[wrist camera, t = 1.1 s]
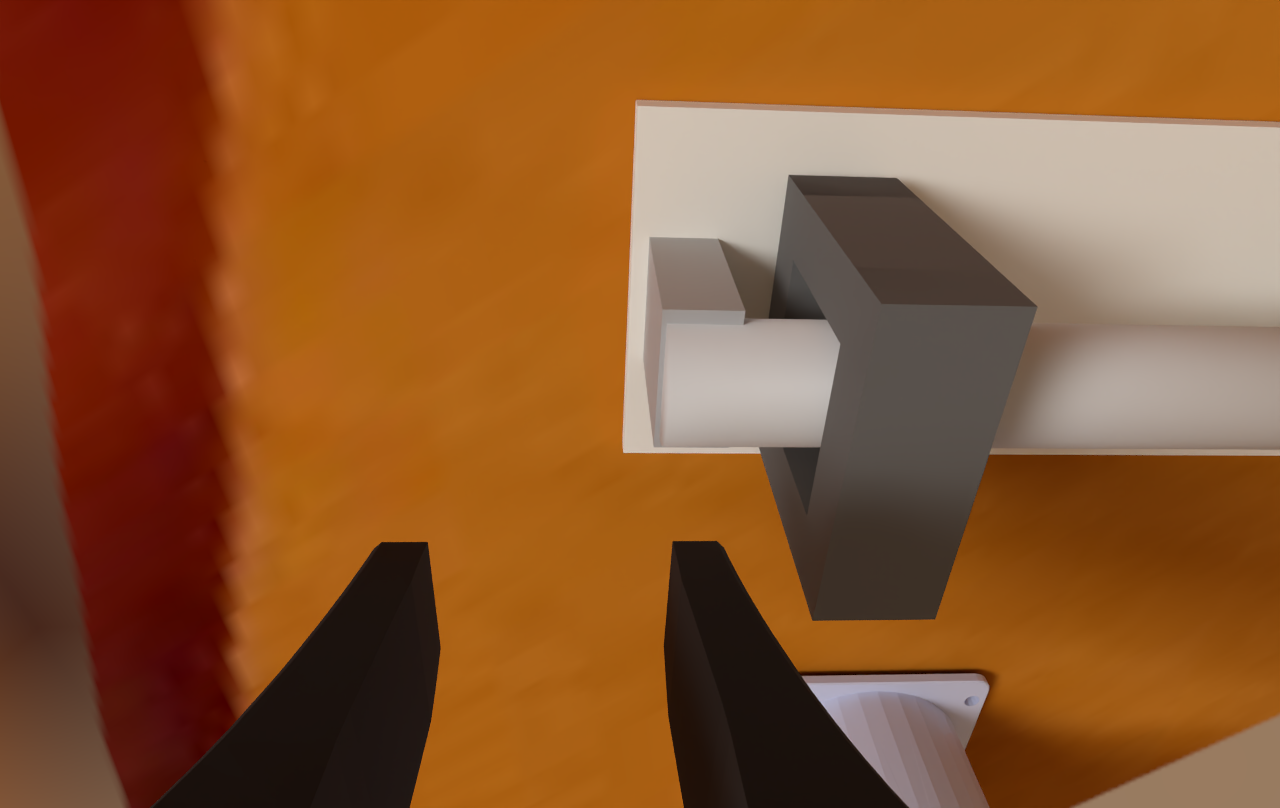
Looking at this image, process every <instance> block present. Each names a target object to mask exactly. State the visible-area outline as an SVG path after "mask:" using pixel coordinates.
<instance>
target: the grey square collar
mask: <svg viewBox="0 0 1280 808" xmlns="http://www.w3.org/2000/svg"><path fill="white" fill-rule="evenodd" d="M1037 308H1038V306H1036V305H1035V304H1034V303H1033V302H1032V301H1031V300H1030V299H1029V298H1028V297H1027V296H1025V295H1024V294H1023V293H1022V292H1021V291H1020V290H1019V289H1018V288H1017V287H1016V286H1015V285H1013V284H1012V283H1011V282H1010V281H1009V280H1008V279H1007V278H1006V277H1005V276H1004V275H1003V274H1001V273H1000V272H999V271H998V270H997V269H996V268H995V267H994V266H993V265H992V264H990V263H989V262H988V261H987V260H986V259H985V258H984V257H983V256H982V255H981V254H980V253H978V252H977V251H976V250H975V249H974V248H973V247H972V246H971V245H970V244H969V243H967V242H966V241H965V240H964V239H963V238H962V237H961V236H960V235H959V234H958V233H957V232H955V231H954V230H953V229H952V228H951V227H950V226H949V225H948V224H947V223H946V222H945V221H943V220H942V219H941V218H940V217H939V216H938V215H937V214H936V213H935V212H934V211H932V210H931V209H930V208H929V207H928V206H927V205H926V204H925V203H924V202H923V201H922V200H920V199H919V198H918V197H917V196H916V195H915V194H914V193H913V192H912V191H911V190H909V189H908V188H907V187H906V186H905V185H904V184H903V183H902V182H901V181H900V180H899V179H897V178H885V177H850V176H814V175H788V182H787V190H786V197H785V204H784V211H783V218H782V225H781V233H780V240H779V247H778V254H777V261H776V268H775V275H774V283H773V290H772V297H771V304H770V311H769V318H768V319H813V320H827V321H828V323H829V325H830V326H831V328H832V330H833V332H834V333H835V335H836V337H837V339H838V341H839V342H840V349H839V354H838V359H837V364H836V369H835V374H834V380H833V385H832V390H831V395H830V400H829V405H828V410H827V416H826V421H825V426H824V431H823V436H822V441H821V446H820V447H759V450H760V453H761V456H762V459H763V463H764V466H765V469H766V472H767V475H768V479H769V482H770V485H771V488H772V492H773V495H774V498H775V501H776V504H777V508H778V511H779V514H780V517H781V520H782V524H783V527H784V530H785V533H786V537H787V540H788V543H789V546H790V549H791V553H792V556H793V559H794V562H795V566H796V569H797V572H798V575H799V578H800V582H801V585H802V588H803V591H804V595H805V598H806V601H807V604H808V607H809V611H810V614H811V617H812V620H813V621H819V620H918V619H935V618H936V615H937V612H938V609H939V606H940V603H941V600H942V597H943V594H944V591H945V588H946V585H947V581H948V578H949V575H950V572H951V569H952V566H953V563H954V560H955V557H956V554H957V551H958V548H959V545H960V542H961V539H962V536H963V533H964V530H965V527H966V524H967V521H968V518H969V515H970V511H971V508H972V505H973V502H974V499H975V496H976V493H977V490H978V487H979V484H980V481H981V478H982V475H983V472H984V469H985V466H986V463H987V460H988V457H989V454H990V451H991V448H992V445H993V441H994V438H995V435H996V432H997V429H998V426H999V423H1000V420H1001V417H1002V414H1003V411H1004V408H1005V405H1006V402H1007V399H1008V396H1009V393H1010V390H1011V387H1012V384H1013V381H1014V378H1015V374H1016V371H1017V368H1018V365H1019V362H1020V359H1021V356H1022V353H1023V350H1024V347H1025V344H1026V341H1027V338H1028V335H1029V332H1030V329H1031V326H1032V323H1033V320H1034V317H1035V314H1036V311H1037Z"/></svg>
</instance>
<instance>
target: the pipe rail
mask: <svg viewBox="0 0 1280 808" xmlns="http://www.w3.org/2000/svg"><path fill="white" fill-rule="evenodd" d="M788 175H814V176H850V177H885V178H897V179H899V180H900V181H901V182H902V183H903V184H904V185H905V186H906V187H907V188H908V189H909V190H911V191H912V192H913V193H914V194H915V195H916V196H917V197H918V198H919V199H920V200H922V201H923V202H924V203H925V204H926V205H927V206H928V207H929V208H930V209H931V210H932V211H934V212H935V213H936V214H937V215H938V216H939V217H940V218H941V219H942V220H943V221H945V222H946V223H947V224H948V225H949V226H950V227H951V228H952V229H953V230H954V231H955V232H957V233H958V234H959V235H960V236H961V237H962V238H963V239H964V240H965V241H966V242H967V243H969V244H970V245H971V246H972V247H973V248H974V249H975V250H976V251H977V252H978V253H980V254H981V255H982V256H983V257H984V258H985V259H986V260H987V261H988V262H989V263H990V264H992V265H993V266H994V267H995V268H996V269H997V270H998V271H999V272H1000V273H1001V274H1003V275H1004V276H1005V277H1006V278H1007V279H1008V280H1009V281H1010V282H1011V283H1012V284H1013V285H1015V286H1016V287H1017V288H1018V289H1019V290H1020V291H1021V292H1022V293H1023V294H1024V295H1025V296H1027V297H1028V298H1029V299H1030V300H1031V301H1032V302H1033V303H1034V304H1035V305H1036V306H1038V308H1037V311H1036V314H1035V317H1034V320H1033V323H1032V326H1031V329H1030V332H1029V335H1028V338H1027V341H1026V344H1025V347H1024V350H1023V353H1022V356H1021V359H1020V362H1019V365H1018V368H1017V371H1016V374H1015V378H1014V381H1013V384H1012V387H1011V390H1010V393H1009V396H1008V399H1007V402H1006V405H1005V408H1004V411H1003V414H1002V417H1001V420H1000V423H999V426H998V429H997V432H996V435H995V438H994V441H993V445H992V448H991V451H990V454H1014V455H1247V456H1280V122H1266V121H1237V120H1208V119H1179V118H1150V117H1121V116H1091V115H1062V114H1033V113H1004V112H975V111H946V110H917V109H888V108H859V107H829V106H800V105H771V104H742V103H713V102H684V101H655V100H636V111H635V137H634V162H633V188H632V213H631V238H630V264H629V289H628V314H627V340H626V365H625V390H624V416H623V453H760V450H759V447H820V446H821V441H822V436H823V431H824V426H825V421H826V416H827V410H828V405H829V400H830V395H831V390H832V385H833V380H834V374H835V369H836V364H837V359H838V354H839V349H840V342H839V341H838V339H837V337H836V335H835V333H834V332H833V330H832V328H831V326H830V325H829V323H828V321H827V320H813V319H768V318H769V311H770V304H771V297H772V290H773V283H774V275H775V268H776V261H777V254H778V247H779V240H780V233H781V225H782V218H783V211H784V204H785V197H786V190H787V182H788Z"/></svg>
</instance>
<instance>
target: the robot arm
mask: <svg viewBox="0 0 1280 808" xmlns="http://www.w3.org/2000/svg"><path fill="white" fill-rule="evenodd" d="M440 649H441V648H440V639H439V631H438V623H437V615H436V607H435V598H434V590H433V582H432V574H431V566H430V557H429V549H428V542H381V543H380V544H379V545H378V546H377V547H376V548H374V550H373V551H372V552H371V554H370V555H369V557H368V558H367V560H366V561H365V562H364V564H363V565H362V567H361V568H360V570H359V571H358V572H357V574H356V575H355V577H354V578H353V579H352V581H351V582H350V583H349V585H348V586H347V588H346V589H345V590H344V592H343V593H342V594H341V596H340V597H339V598H338V600H337V601H336V602H335V604H334V605H333V606H332V608H331V609H330V610H329V612H328V613H327V614H326V615H325V617H324V618H323V619H322V621H321V622H320V623H319V625H318V626H317V627H316V628H315V629H314V631H313V632H312V633H311V634H310V636H309V637H308V638H307V639H306V641H305V642H304V643H303V644H302V646H301V647H300V648H299V649H298V651H297V652H296V653H295V654H294V655H293V657H292V658H291V659H290V660H289V662H288V663H287V664H286V665H285V667H284V668H283V669H282V670H281V671H280V672H279V674H278V675H277V676H276V677H275V678H274V679H273V681H272V682H271V683H270V684H269V685H268V686H267V687H266V688H265V689H264V691H263V692H262V693H261V694H260V695H259V696H258V697H257V698H256V700H255V701H254V702H253V703H252V704H251V705H250V706H249V707H248V709H247V710H246V711H245V712H244V713H243V714H242V715H241V716H240V718H239V719H238V720H237V721H236V722H235V723H234V724H233V725H232V726H231V728H230V729H229V730H228V731H227V732H226V733H225V734H224V735H223V736H222V737H221V738H220V739H219V740H218V741H217V742H216V743H215V744H214V745H213V746H212V747H211V748H210V750H209V751H208V752H207V753H206V754H205V755H204V756H203V757H202V758H201V759H200V760H199V761H198V762H197V763H196V764H195V765H194V766H193V767H192V768H191V769H190V770H189V771H188V772H187V773H186V774H185V775H184V776H183V777H182V778H181V779H180V780H178V781H177V782H176V783H175V784H174V785H173V786H172V787H171V788H170V789H169V790H168V791H167V792H166V793H165V794H164V795H163V796H162V797H161V798H160V799H159V800H158V801H157V802H156V803H155V804H154V805H152V806H151V807H150V808H410V804H411V800H412V796H413V792H414V788H415V784H416V780H417V776H418V772H419V768H420V764H421V760H422V756H423V751H424V747H425V743H426V739H427V735H428V731H429V727H430V723H431V717H432V710H433V703H434V696H435V689H436V681H437V673H438V665H439V657H440ZM664 656H665V672H666V688H667V702H668V716H669V722H670V729H671V735H672V740H673V746H674V752H675V758H676V764H677V770H678V776H679V781H680V787H681V793H682V799H683V804H684V808H990V807H989V805H988V803H987V801H986V798H985V796H984V794H983V791H982V789H981V787H980V785H979V782H978V780H977V778H976V776H975V773H974V771H973V769H972V767H971V764H970V762H969V760H968V757H967V755H966V753H965V749H966V746H967V744H968V741H969V739H970V736H971V734H972V731H973V729H974V726H975V724H976V721H977V719H978V716H979V714H980V711H981V709H982V706H983V704H984V702H985V699H986V697H987V694H988V692H989V687H990V686H989V684H988V682H987V680H986V679H985V677H984V676H983V675H981V674H976V673H962V674H895V675H828V676H801V675H800V674H799V672H798V671H797V669H796V668H795V666H794V665H793V663H792V662H791V660H790V659H789V657H788V656H787V654H786V653H785V651H784V650H783V648H782V647H781V645H780V644H779V642H778V641H777V639H776V638H775V636H774V635H773V633H772V632H771V630H770V629H769V627H768V626H767V624H766V622H765V621H764V619H763V618H762V616H761V614H760V613H759V611H758V609H757V608H756V606H755V604H754V603H753V601H752V599H751V598H750V596H749V594H748V592H747V591H746V589H745V587H744V585H743V584H742V582H741V580H740V578H739V576H738V575H737V573H736V571H735V569H734V567H733V565H732V563H731V561H730V559H729V557H728V555H727V553H726V551H725V549H724V547H723V546H721V545H720V544H719V543H718V542H717V541H673V544H672V556H671V568H670V579H669V591H668V603H667V615H666V626H665V638H664Z"/></svg>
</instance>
